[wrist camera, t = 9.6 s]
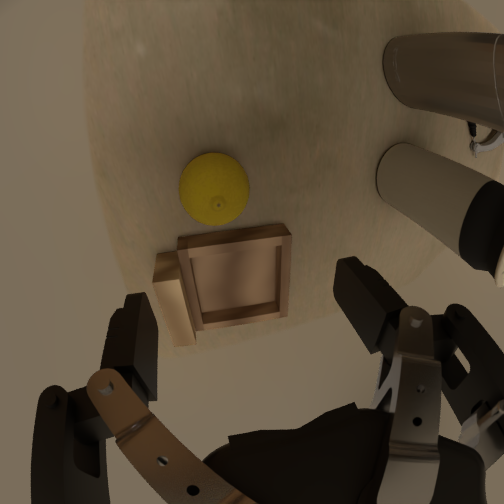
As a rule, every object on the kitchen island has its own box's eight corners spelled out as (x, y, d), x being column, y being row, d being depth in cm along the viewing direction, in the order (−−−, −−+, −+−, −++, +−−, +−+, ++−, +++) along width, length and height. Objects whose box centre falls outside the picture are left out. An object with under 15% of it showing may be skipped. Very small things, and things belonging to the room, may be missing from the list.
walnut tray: (282, 222, 29) (291, 235, 26) (280, 300, 35) (287, 316, 32) (178, 235, 27) (177, 250, 25) (194, 313, 33) (195, 331, 31)
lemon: (240, 200, 26) (259, 238, 20) (183, 205, 25) (180, 246, 19) (240, 144, 23) (260, 162, 17) (178, 148, 22) (172, 168, 16)
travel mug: (363, 187, 28) (487, 280, 13) (394, 129, 25) (533, 186, 10) (402, 213, 31) (504, 297, 16) (429, 163, 28) (542, 226, 13)
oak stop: (180, 250, 28) (179, 279, 23) (194, 313, 32) (196, 344, 28) (157, 253, 27) (152, 282, 23) (174, 316, 32) (174, 346, 28)
